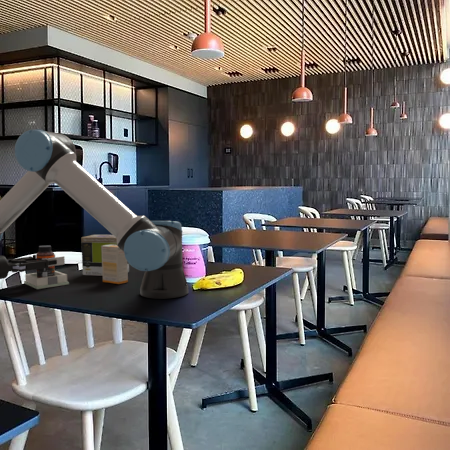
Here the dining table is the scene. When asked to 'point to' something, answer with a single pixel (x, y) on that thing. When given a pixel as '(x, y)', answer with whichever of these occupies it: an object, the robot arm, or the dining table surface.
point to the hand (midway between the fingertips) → (59, 259)
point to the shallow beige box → (46, 280)
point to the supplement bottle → (42, 255)
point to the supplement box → (114, 264)
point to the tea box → (95, 253)
